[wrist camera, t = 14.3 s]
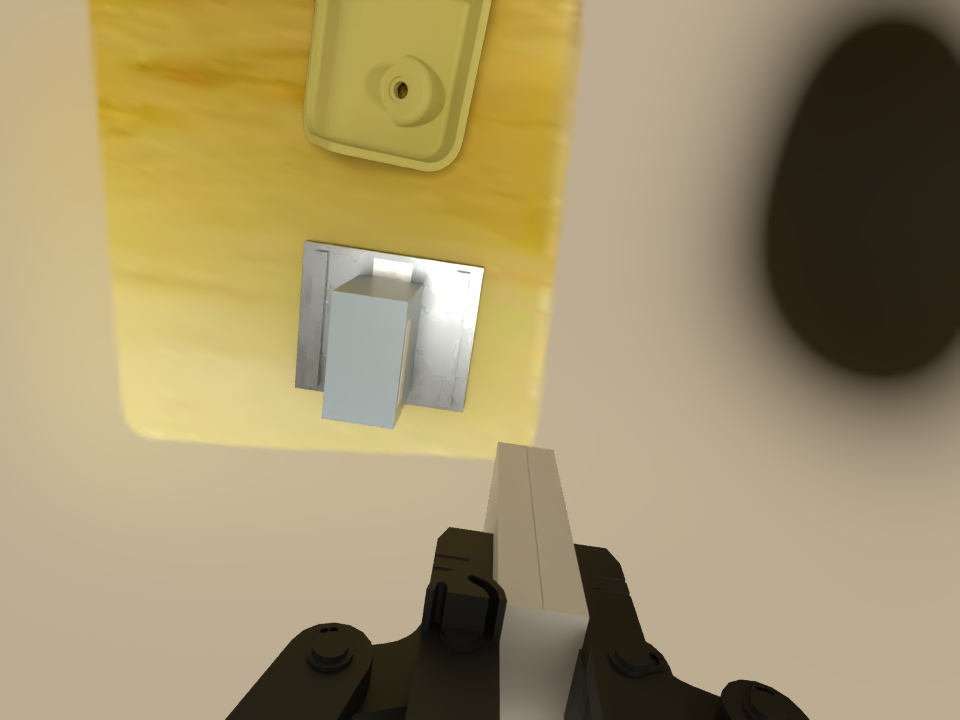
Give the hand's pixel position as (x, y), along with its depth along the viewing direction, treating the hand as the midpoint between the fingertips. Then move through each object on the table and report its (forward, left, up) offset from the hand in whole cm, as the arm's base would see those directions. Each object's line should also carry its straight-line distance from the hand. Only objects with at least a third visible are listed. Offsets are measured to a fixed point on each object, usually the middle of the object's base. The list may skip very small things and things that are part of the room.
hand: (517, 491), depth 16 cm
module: (+4, -9, -32) cm, 33 cm away
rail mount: (+4, -9, -32) cm, 34 cm away
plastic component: (-18, -10, -33) cm, 39 cm away
